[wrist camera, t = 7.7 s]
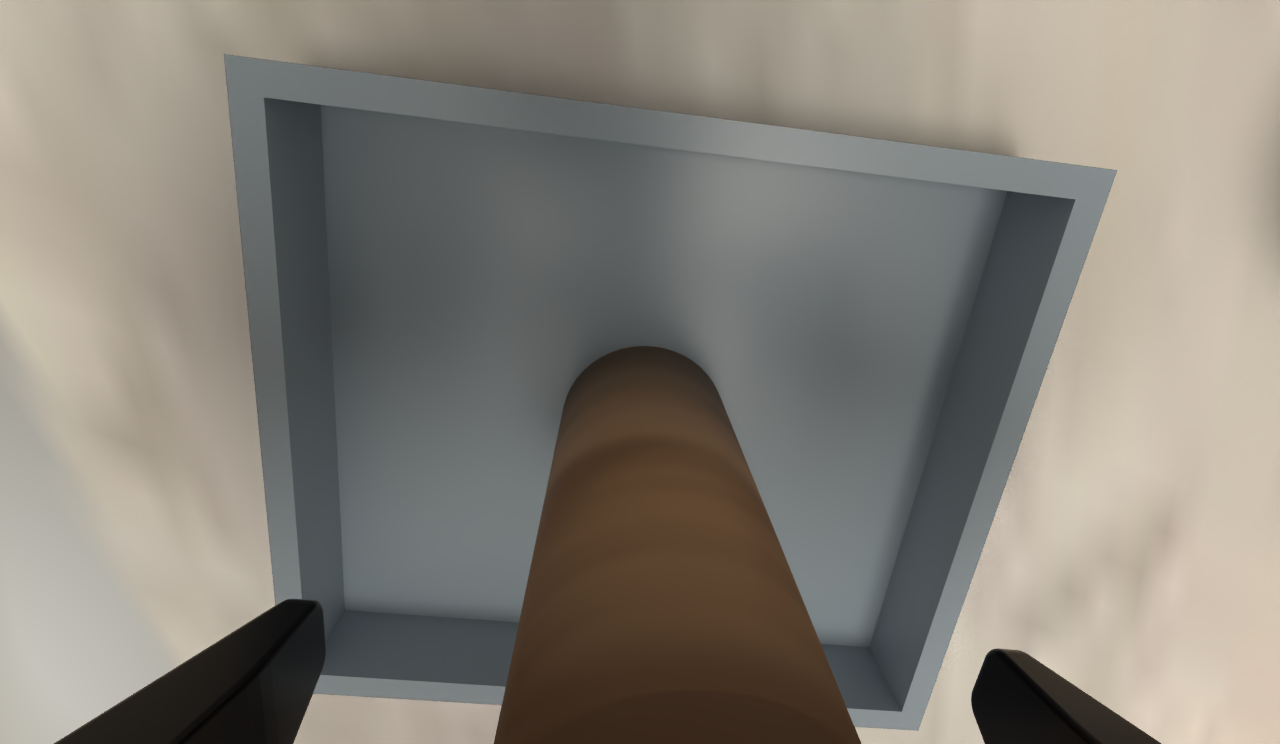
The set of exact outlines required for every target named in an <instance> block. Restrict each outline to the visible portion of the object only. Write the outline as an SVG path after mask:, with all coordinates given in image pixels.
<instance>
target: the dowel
mask: <svg viewBox="0 0 1280 744" xmlns="http://www.w3.org/2000/svg"><path fill="white" fill-rule="evenodd" d="M494 744H861V742H860V739H859V737H858V734H857V732H856V729H855V727H854V725H853V722H852V720H851V717H850V715H849V712H848V710H847V707H846V705H845V702H844V700H843V697H842V695H841V693H840V690H839V688H838V685H837V683H836V680H835V678H834V675H833V673H832V670H831V668H830V665H829V663H828V661H827V658H826V656H825V653H824V651H823V648H822V646H821V643H820V641H819V638H818V636H817V634H816V631H815V629H814V626H813V624H812V621H811V619H810V616H809V614H808V611H807V609H806V606H805V604H804V602H803V599H802V597H801V594H800V592H799V589H798V587H797V584H796V582H795V579H794V577H793V574H792V572H791V570H790V567H789V565H788V562H787V560H786V557H785V555H784V552H783V550H782V547H781V545H780V543H779V540H778V538H777V535H776V533H775V530H774V528H773V525H772V523H771V520H770V518H769V515H768V513H767V511H766V508H765V506H764V503H763V501H762V498H761V496H760V493H759V491H758V488H757V486H756V483H755V481H754V479H753V476H752V474H751V471H750V469H749V466H748V464H747V461H746V459H745V456H744V454H743V452H742V449H741V447H740V444H739V442H738V439H737V437H736V434H735V432H734V429H733V427H732V424H731V422H730V420H729V417H728V415H727V412H726V410H725V407H724V405H723V402H722V400H721V397H720V395H719V392H718V391H717V389H716V387H715V385H714V383H713V381H712V380H711V379H710V377H709V376H708V375H707V373H706V372H705V371H704V370H703V369H702V368H701V367H700V366H698V365H697V364H696V363H695V362H693V361H692V360H690V359H689V358H687V357H685V356H684V355H681V354H679V353H677V352H675V351H672V350H668V349H665V348H660V347H654V346H636V347H628V348H624V349H620V350H617V351H614V352H611V353H609V354H607V355H605V356H603V357H601V358H599V359H598V360H596V361H595V362H593V363H592V364H590V365H589V366H588V367H587V368H586V369H585V370H584V371H583V372H582V373H581V374H580V375H579V376H578V377H577V379H576V380H575V382H574V383H573V385H572V386H571V388H570V390H569V392H568V394H567V397H566V400H565V403H564V407H563V411H562V416H561V421H560V426H559V431H558V436H557V441H556V445H555V450H554V455H553V460H552V465H551V470H550V474H549V479H548V484H547V489H546V494H545V499H544V504H543V508H542V513H541V518H540V523H539V528H538V533H537V537H536V542H535V547H534V552H533V557H532V562H531V566H530V571H529V576H528V581H527V586H526V591H525V596H524V600H523V605H522V610H521V615H520V620H519V625H518V629H517V634H516V639H515V644H514V649H513V654H512V659H511V663H510V668H509V673H508V678H507V683H506V688H505V692H504V697H503V702H502V707H501V712H500V717H499V721H498V726H497V731H496V736H495V741H494Z"/></svg>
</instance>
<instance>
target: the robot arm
mask: <svg viewBox="0 0 1280 744" xmlns="http://www.w3.org/2000/svg"><path fill="white" fill-rule="evenodd" d="M325 655H326V644H325V629H324V613H323V607H322V605H321V603H320V602H318V601H316V600H304V599H287V600H284V601H282V602H280V603H279V604H277V605H276V606H274V607H272V608H271V609H269V610H268V611H266V612H264V613H263V614H261V615H260V616H258V617H256V618H255V619H253V620H252V621H250V622H248V623H247V624H245V625H244V626H242V627H240V628H239V629H237V630H236V631H234V632H232V633H231V634H229V635H227V636H226V637H224V638H223V639H221V640H219V641H218V642H216V643H215V644H213V645H211V646H210V647H208V648H207V649H205V650H203V651H202V652H200V653H199V654H197V655H195V656H194V657H192V658H191V659H189V660H187V661H186V662H184V663H183V664H181V665H179V666H178V667H176V668H175V669H173V670H171V671H170V672H168V673H167V674H165V675H163V676H162V677H160V678H158V679H157V680H155V681H154V682H152V683H151V684H149V685H147V686H146V687H144V688H142V689H141V690H139V691H138V692H136V693H134V694H133V695H131V696H130V697H128V698H126V699H125V700H123V701H122V702H120V703H118V704H117V705H115V706H114V707H112V708H110V709H109V710H107V711H106V712H104V713H103V714H101V715H99V716H98V717H96V718H94V719H93V720H91V721H90V722H88V723H86V724H85V725H83V726H81V727H80V728H78V729H77V730H75V731H73V732H72V733H71V734H69V735H67V736H65V737H64V738H62V739H61V740H59V741H57V742H56V743H54V744H293V743H294V740H295V738H296V735H297V733H298V730H299V728H300V725H301V722H302V720H303V717H304V715H305V712H306V710H307V707H308V705H309V702H310V700H311V697H312V695H313V692H314V690H315V687H316V685H317V682H318V680H319V677H320V675H321V672H322V669H323V666H324V662H325ZM971 702H972V709H973V713H974V716H975V718H976V721H977V724H978V726H979V729H980V732H981V734H982V737H983V740H984V742H985V744H1161V743H1160V742H1158V741H1157V740H1155V739H1154V738H1152V737H1151V736H1149V735H1148V734H1146V733H1145V732H1143V731H1142V730H1140V729H1139V728H1137V727H1136V726H1134V725H1133V724H1131V723H1130V722H1128V721H1127V720H1125V719H1124V718H1122V717H1121V716H1119V715H1118V714H1116V713H1115V712H1113V711H1112V710H1110V709H1109V708H1107V707H1106V706H1104V705H1103V704H1101V703H1100V702H1098V701H1097V700H1095V699H1094V698H1092V697H1091V696H1089V695H1088V694H1086V693H1085V692H1083V691H1082V690H1080V689H1079V688H1077V687H1076V686H1075V685H1073V684H1072V683H1070V682H1069V681H1067V680H1066V679H1064V678H1063V677H1061V676H1060V675H1058V674H1057V673H1055V672H1054V671H1052V670H1051V669H1049V668H1048V667H1046V666H1045V665H1043V664H1042V663H1040V662H1039V661H1037V660H1036V659H1034V658H1033V657H1031V656H1030V655H1028V654H1026V653H1025V652H1022V651H1019V650H1008V649H993V650H991V651H990V652H989V653H987V655H986V657H985V660H984V662H983V665H982V667H981V670H980V673H979V675H978V678H977V680H976V683H975V686H974V688H973V691H972V697H971Z"/></svg>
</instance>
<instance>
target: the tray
mask: <svg viewBox="0 0 1280 744" xmlns="http://www.w3.org/2000/svg"><path fill="white" fill-rule="evenodd" d="M224 60H225V71H226V82H227V92H228V103H229V114H230V124H231V135H232V146H233V156H234V167H235V178H236V189H237V199H238V210H239V221H240V231H241V242H242V253H243V263H244V274H245V285H246V296H247V306H248V317H249V328H250V338H251V349H252V360H253V370H254V381H255V392H256V402H257V413H258V424H259V435H260V445H261V456H262V467H263V477H264V488H265V499H266V509H267V520H268V531H269V542H270V552H271V563H272V574H273V584H274V595H275V606H276V605H277V604H279V603H280V602H282V601H284V600H287V599H304V600H316V601H318V602H320V603H321V605H322V607H323V613H324V629H325V644H326V655H325V662H324V666H323V669H322V672H321V675H320V677H319V680H318V682H317V685H316V687H315V690H314V692H313V694H329V695H346V696H362V697H378V698H395V699H411V700H427V701H444V702H460V703H476V704H492V705H502V702H503V697H504V692H505V688H506V683H507V678H508V673H509V668H510V663H511V659H512V654H513V649H514V644H515V639H516V634H517V629H518V625H519V620H520V615H521V610H522V605H523V600H524V596H525V591H526V586H527V581H528V576H529V571H530V566H531V562H532V557H533V552H534V547H535V542H536V537H537V533H538V528H539V523H540V518H541V513H542V508H543V504H544V499H545V494H546V489H547V484H548V479H549V474H550V470H551V465H552V460H553V455H554V450H555V445H556V441H557V436H558V431H559V426H560V421H561V416H562V411H563V407H564V403H565V400H566V397H567V394H568V392H569V390H570V388H571V386H572V385H573V383H574V382H575V380H576V379H577V377H578V376H579V375H580V374H581V373H582V372H583V371H584V370H585V369H586V368H587V367H588V366H589V365H590V364H592V363H593V362H595V361H596V360H598V359H599V358H601V357H603V356H605V355H607V354H609V353H611V352H614V351H617V350H620V349H624V348H628V347H636V346H654V347H660V348H665V349H668V350H672V351H675V352H677V353H679V354H681V355H684V356H685V357H687V358H689V359H690V360H692V361H693V362H695V363H696V364H697V365H698V366H700V367H701V368H702V369H703V370H704V371H705V372H706V373H707V375H708V376H709V377H710V379H711V380H712V381H713V383H714V385H715V387H716V389H717V391H718V392H719V395H720V397H721V400H722V402H723V405H724V407H725V410H726V412H727V415H728V417H729V420H730V422H731V424H732V427H733V429H734V432H735V434H736V437H737V439H738V442H739V444H740V447H741V449H742V452H743V454H744V456H745V459H746V461H747V464H748V466H749V469H750V471H751V474H752V476H753V479H754V481H755V483H756V486H757V488H758V491H759V493H760V496H761V498H762V501H763V503H764V506H765V508H766V511H767V513H768V515H769V518H770V520H771V523H772V525H773V528H774V530H775V533H776V535H777V538H778V540H779V543H780V545H781V547H782V550H783V552H784V555H785V557H786V560H787V562H788V565H789V567H790V570H791V572H792V574H793V577H794V579H795V582H796V584H797V587H798V589H799V592H800V594H801V597H802V599H803V602H804V604H805V606H806V609H807V611H808V614H809V616H810V619H811V621H812V624H813V626H814V629H815V631H816V634H817V636H818V638H819V641H820V643H821V646H822V648H823V651H824V653H825V656H826V658H827V661H828V663H829V665H830V668H831V670H832V673H833V675H834V678H835V680H836V683H837V685H838V688H839V690H840V693H841V695H842V697H843V700H844V702H845V705H846V707H847V710H848V712H849V715H850V717H851V720H852V722H853V725H854V727H868V728H884V729H900V730H917V731H918V730H919V727H920V724H921V721H922V718H923V716H924V713H925V710H926V707H927V704H928V701H929V699H930V696H931V693H932V690H933V687H934V685H935V682H936V679H937V676H938V673H939V670H940V668H941V665H942V662H943V659H944V656H945V654H946V651H947V648H948V645H949V642H950V640H951V637H952V634H953V631H954V628H955V625H956V623H957V620H958V617H959V614H960V611H961V609H962V606H963V603H964V600H965V597H966V595H967V592H968V589H969V586H970V583H971V580H972V578H973V575H974V572H975V569H976V566H977V564H978V561H979V558H980V555H981V552H982V549H983V547H984V544H985V541H986V538H987V535H988V533H989V530H990V527H991V524H992V521H993V519H994V516H995V513H996V510H997V507H998V504H999V502H1000V499H1001V496H1002V493H1003V490H1004V488H1005V485H1006V482H1007V479H1008V476H1009V474H1010V471H1011V468H1012V465H1013V462H1014V459H1015V457H1016V454H1017V451H1018V448H1019V445H1020V443H1021V440H1022V437H1023V434H1024V431H1025V428H1026V426H1027V423H1028V420H1029V417H1030V414H1031V412H1032V409H1033V406H1034V403H1035V400H1036V398H1037V395H1038V392H1039V389H1040V386H1041V383H1042V381H1043V378H1044V375H1045V372H1046V369H1047V367H1048V364H1049V361H1050V358H1051V355H1052V353H1053V350H1054V347H1055V344H1056V341H1057V338H1058V336H1059V333H1060V330H1061V327H1062V324H1063V322H1064V319H1065V316H1066V313H1067V310H1068V308H1069V305H1070V302H1071V299H1072V296H1073V293H1074V291H1075V288H1076V285H1077V282H1078V279H1079V277H1080V274H1081V271H1082V268H1083V265H1084V262H1085V260H1086V257H1087V254H1088V251H1089V248H1090V246H1091V243H1092V240H1093V237H1094V234H1095V232H1096V229H1097V226H1098V223H1099V220H1100V217H1101V215H1102V212H1103V209H1104V206H1105V203H1106V201H1107V198H1108V195H1109V192H1110V189H1111V187H1112V184H1113V181H1114V178H1115V175H1116V172H1117V170H1112V169H1104V168H1096V167H1089V166H1081V165H1073V164H1066V163H1058V162H1050V161H1043V160H1035V159H1027V158H1019V157H1012V156H1004V155H996V154H989V153H981V152H973V151H966V150H958V149H950V148H942V147H935V146H927V145H919V144H912V143H904V142H896V141H889V140H881V139H873V138H865V137H858V136H850V135H842V134H835V133H827V132H819V131H811V130H804V129H796V128H788V127H781V126H773V125H765V124H758V123H750V122H742V121H734V120H727V119H719V118H711V117H704V116H696V115H688V114H681V113H673V112H665V111H657V110H650V109H642V108H634V107H627V106H619V105H611V104H604V103H596V102H588V101H580V100H573V99H565V98H557V97H550V96H542V95H534V94H527V93H519V92H511V91H503V90H496V89H488V88H480V87H473V86H465V85H457V84H450V83H442V82H434V81H426V80H419V79H411V78H403V77H396V76H388V75H380V74H373V73H365V72H357V71H349V70H342V69H334V68H326V67H319V66H311V65H303V64H295V63H288V62H280V61H272V60H265V59H257V58H249V57H242V56H234V55H226V54H224Z"/></svg>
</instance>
